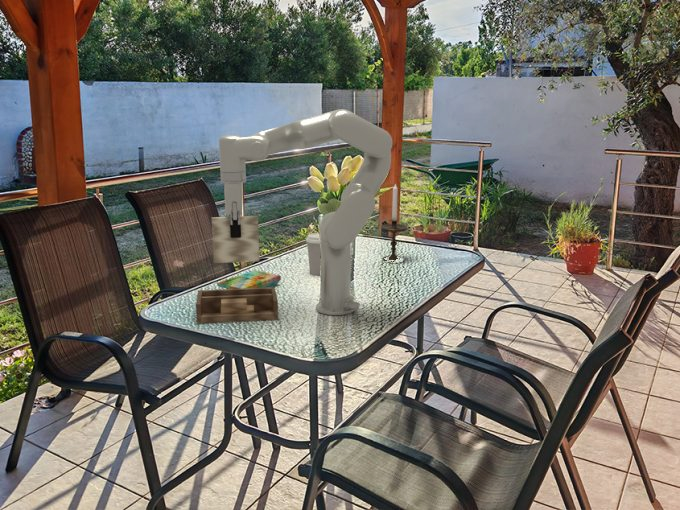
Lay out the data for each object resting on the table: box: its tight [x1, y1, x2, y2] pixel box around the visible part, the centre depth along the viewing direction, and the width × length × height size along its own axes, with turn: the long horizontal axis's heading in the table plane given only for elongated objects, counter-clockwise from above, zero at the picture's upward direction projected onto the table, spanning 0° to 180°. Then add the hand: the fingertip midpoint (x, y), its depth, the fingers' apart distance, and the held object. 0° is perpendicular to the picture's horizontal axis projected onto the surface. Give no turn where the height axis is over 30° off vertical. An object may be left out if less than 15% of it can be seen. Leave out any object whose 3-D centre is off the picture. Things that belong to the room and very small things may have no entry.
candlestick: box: [380, 177, 408, 262], centre depth 265 cm, size 11×11×35 cm
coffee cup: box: [305, 232, 321, 277], centre depth 248 cm, size 10×10×15 cm
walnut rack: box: [195, 286, 279, 325], centre depth 201 cm, size 24×14×7 cm, turn 99°
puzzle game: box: [216, 269, 282, 289], centre depth 230 cm, size 12×5×20 cm
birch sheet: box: [211, 215, 260, 264], centre depth 200 cm, size 14×2×14 cm, turn 99°
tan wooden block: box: [221, 298, 254, 315], centre depth 199 cm, size 10×5×5 cm, turn 99°
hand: (235, 236), depth 200 cm, fingers closed on birch sheet, 1 cm apart
